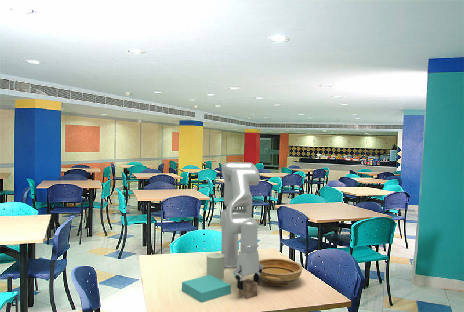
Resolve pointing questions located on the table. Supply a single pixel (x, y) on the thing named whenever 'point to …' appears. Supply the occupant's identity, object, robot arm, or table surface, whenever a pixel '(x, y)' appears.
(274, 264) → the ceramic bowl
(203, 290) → the teal base
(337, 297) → the table surface
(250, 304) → the table surface
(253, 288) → the walnut cube
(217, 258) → the can
